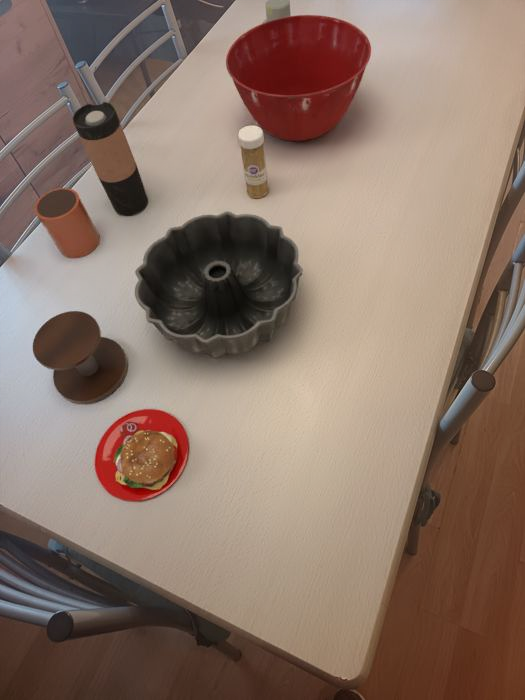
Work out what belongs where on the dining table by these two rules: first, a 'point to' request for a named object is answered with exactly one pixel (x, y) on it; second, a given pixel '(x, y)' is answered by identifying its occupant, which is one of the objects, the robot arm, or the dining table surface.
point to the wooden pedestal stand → (80, 357)
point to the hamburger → (141, 455)
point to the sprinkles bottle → (254, 160)
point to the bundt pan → (219, 283)
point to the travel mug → (111, 157)
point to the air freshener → (277, 9)
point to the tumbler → (67, 222)
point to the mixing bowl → (299, 73)
